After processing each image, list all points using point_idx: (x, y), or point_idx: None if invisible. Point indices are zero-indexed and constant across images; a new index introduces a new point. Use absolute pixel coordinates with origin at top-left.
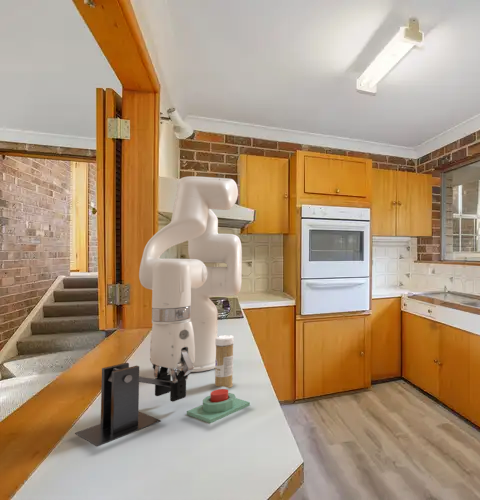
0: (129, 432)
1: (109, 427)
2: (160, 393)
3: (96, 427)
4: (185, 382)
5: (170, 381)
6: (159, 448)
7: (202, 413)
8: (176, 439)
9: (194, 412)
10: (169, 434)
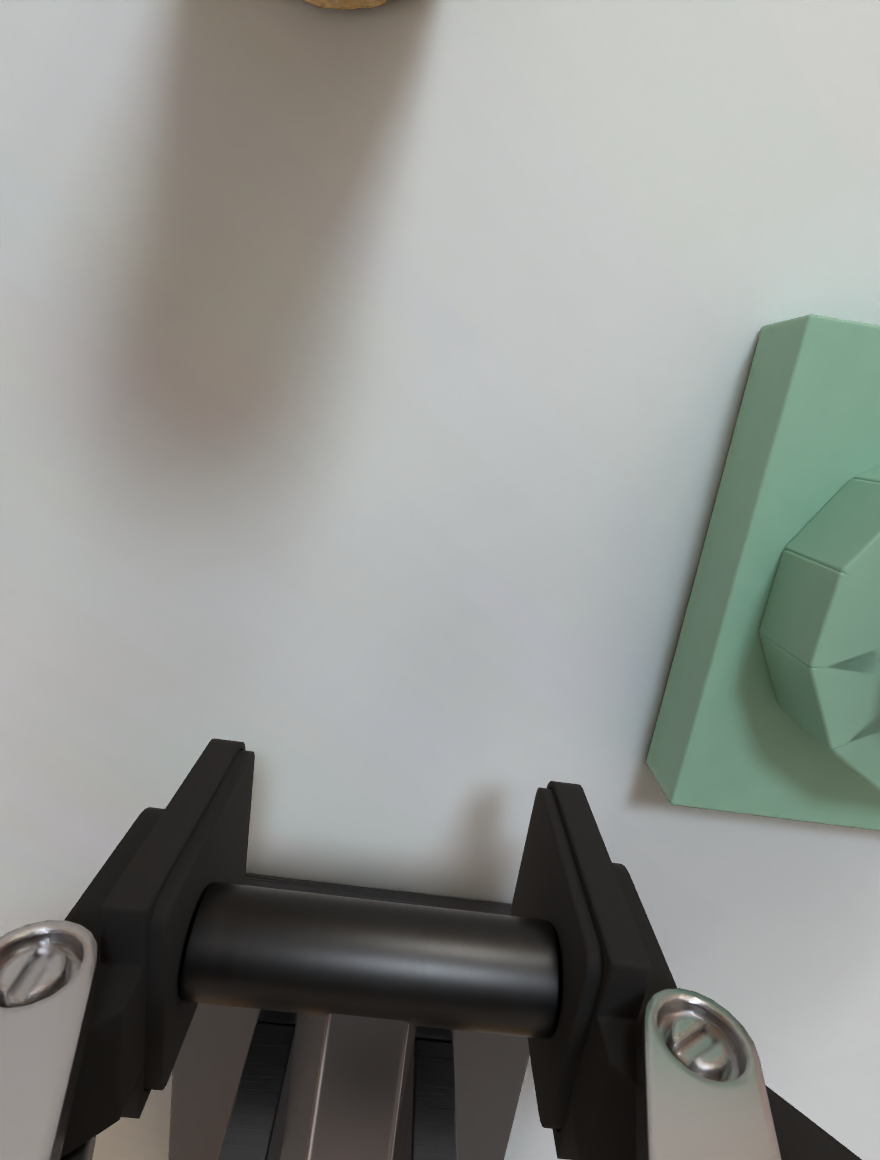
0: (511, 1121)
1: (300, 1128)
2: (238, 867)
3: (213, 1154)
4: (628, 925)
5: (388, 1016)
6: (797, 1075)
7: (861, 788)
8: (819, 981)
9: (767, 798)
10: (715, 957)
